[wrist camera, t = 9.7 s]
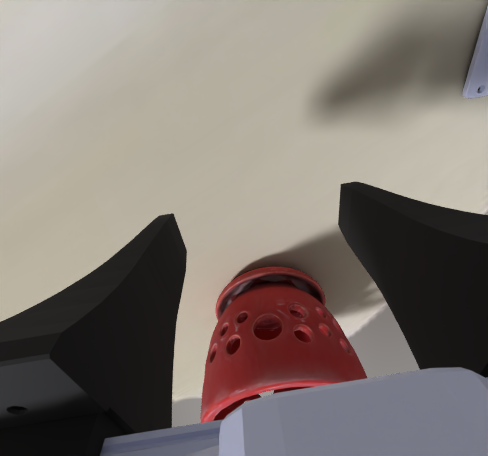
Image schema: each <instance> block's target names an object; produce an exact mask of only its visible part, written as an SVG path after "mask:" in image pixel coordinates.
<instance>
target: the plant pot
mask: <svg viewBox="0 0 488 456" xmlns="http://www.w3.org/2000/svg"><path fill="white" fill-rule="evenodd" d="M324 306H325V296H324V293H323V290H322V288H321V287H320V285H319V284H318V283H317V282H316V281H315V280H314V279H313V278H312V277H310V276H309V275H307V274H305V273H303V272H301V271H298V270H295V269H292V268H287V267H264V268H259V269H255V270H251V271H249V272H246V273H244V274H242V275H240V276H238V277H237V278H235V279H234V280H233V281H231V282H230V283H229V284H228V285H227V286H226V287H225V288H224V290H223V291H222V293H221V294H220V296H219V298H218V301H217V304H216V316H217V319H218V323H217V325H216V327H215V330H214V332H213V335H212V338H211V342H210V346H209V351H208V356H207V360H206V365H205V378H204V384H203V392H202V405H201V423H205V422H211V421H217V420H224V418H225V417H226V416H227V415H228V414H229V413H231V412H232V411H234V410H235V409H236V408H238V407H239V406H241V405H242V404H243V403H244V402H245V401H250V400H254V399H257V398H261V396H260V395H259V393H262V392H266V391H271V390H274V393H279V392H286V391H292V390H298V389H304V388H310V387H317V386H323V385H329V384H335V383H341V382H348V381H354V380H360V379H366V378H367V376H366V374H365V371H364V369H363V367H362V365H361V363H360V361H359V359H358V357H357V355H356V353H355V351H354V349H353V347H352V346H351V344H350V343H349V341H348V339H347V338H346V336H345V334H344V332H343V331H342V329H341V327H340V325H339V324H338V322H337V321H336V319H335V318H334V317H333V315H332V314H331V313H330V312H329V311H328V310H327V309H326V308H325V307H324ZM274 393H273V394H274Z"/></svg>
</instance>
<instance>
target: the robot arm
mask: <svg viewBox="0 0 488 456" xmlns="http://www.w3.org/2000/svg"><path fill="white" fill-rule="evenodd" d="M479 87H480V89H479V91H478V92H477V90H478V88H479ZM482 96H488V6H487V10H486V13H485V17H484V20H483V24H482V27H481V31H480V34H479V37H478V41H477V44H476V48H475V51H474V55H473V58H472V62H471V65H470V68H469V72H468V75H467V79H466V82H465V86H464V89H463V97H465V98H477V97H482ZM338 225H339V227H340V229H341V231H342V233H343V235H344V237H345V239H346V241H347V243H348V245H349V246H350V248H351V249H352V250H353V252H354V253H355V255H356V256H357V258H358V259H359V260H360V262H361V263H362V265H363V266H364V267H365V269H366V270H367V272H368V273H369V274H370V276H371V277H372V279H373V280H374V281H375V283H376V285H377V286H378V288H379V289H380V291H381V293H382V294H383V296H384V298H385V300H386V302H387V304H388V305H389V307H390V309H391V311H392V312H393V314H394V316H395V319H396V321H397V322H398V324H399V326H400V328H401V330H402V332H403V334H404V336H405V338H406V340H407V342H408V345H409V347H410V349H411V351H412V353H413V355H414V357H415V359H416V362H417V364H418V366H419V368H420V370H416V371H410V372H404V373H397V374H391V375H385V376H379V377H373V378H366V379H360V380H354V381H348V382H341V383H335V384H329V385H323V386H317V387H310V388H304V389H298V390H292V391H286V392H279V393H274V394H271V395H268V396H264V397H261V398H257V399H254V400H250V401H247V402H245V403H243V404H242V405H241V406H239V407H238V408H236V409H235V410H234V411H232V412H231V413H229V414H228V415H227V416H226V417H225V418H224V420H217V421H211V422H205V423H199V424H193V425H186V426H180V427H174V428H172V380H173V359H174V343H175V330H176V321H177V314H178V309H179V304H180V299H181V293H182V288H183V283H184V278H185V272H186V254H187V250H186V248H185V245H184V242H183V239H182V236H181V234H180V231H179V228H178V225H177V222H176V220H175V217H174V214H167V215H161V216H158V217H157V218H156V219H155V220H153V221H152V222H151V223H150V224H149V225H148V226H147V227H146V228H145V229H143V230H142V231H141V232H140V233H139V234H138V235H137V236H136V237H135V238H134V239H133V240H132V241H130V242H129V243H128V244H127V245H126V246H125V247H123V248H122V249H121V250H120V251H119V252H117V253H116V254H115V255H114V256H113V257H111V258H110V259H109V260H108V261H106V262H105V263H104V264H102V265H101V266H100V267H98V268H97V269H95V270H94V271H92V272H91V273H90V274H88V275H87V276H85V277H83V278H82V279H80V280H79V281H77V282H75V283H74V284H72V285H70V286H69V287H67V288H66V289H64V290H62V291H61V292H59V293H57V294H55V295H54V296H52V297H50V298H48V299H46V300H44V301H43V302H41V303H39V304H37V305H35V306H33V307H31V308H29V309H27V310H25V311H23V312H21V313H19V314H17V315H15V316H13V317H10V318H8V319H6V320H4V321H2V322H0V456H488V215H482V214H476V213H470V212H464V211H459V210H455V209H450V208H445V207H440V206H436V205H432V204H428V203H425V202H421V201H418V200H414V199H411V198H407V197H404V196H401V195H398V194H395V193H392V192H389V191H386V190H383V189H380V188H377V187H374V186H370V185H367V184H364V183H360V182H351V183H345V184H341V191H340V206H339V222H338Z"/></svg>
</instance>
